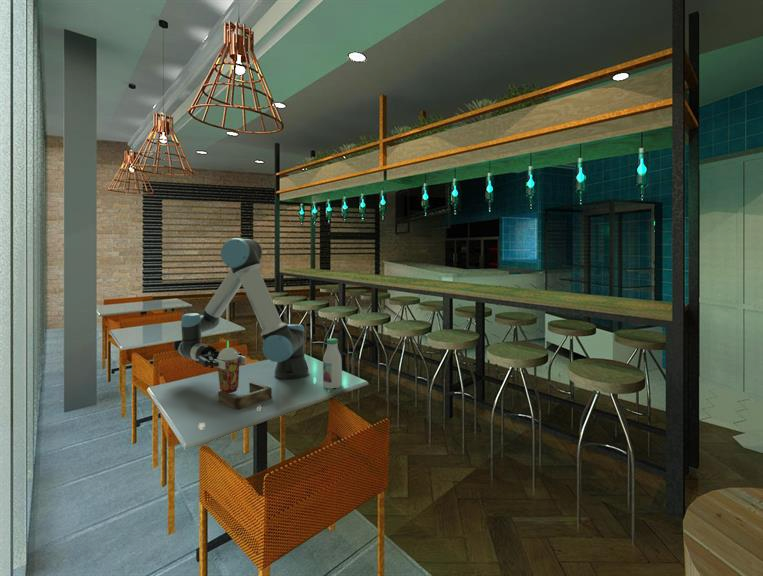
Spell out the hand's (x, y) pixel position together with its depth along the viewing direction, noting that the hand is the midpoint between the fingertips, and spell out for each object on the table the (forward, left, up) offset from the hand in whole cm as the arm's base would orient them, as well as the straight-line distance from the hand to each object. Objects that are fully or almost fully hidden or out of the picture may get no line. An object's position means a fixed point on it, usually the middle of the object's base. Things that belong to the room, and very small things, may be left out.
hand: (235, 363), depth 157 cm
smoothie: (0, -5, -12) cm, 13 cm away
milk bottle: (-34, +17, -14) cm, 40 cm away
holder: (-1, +4, -13) cm, 14 cm away
